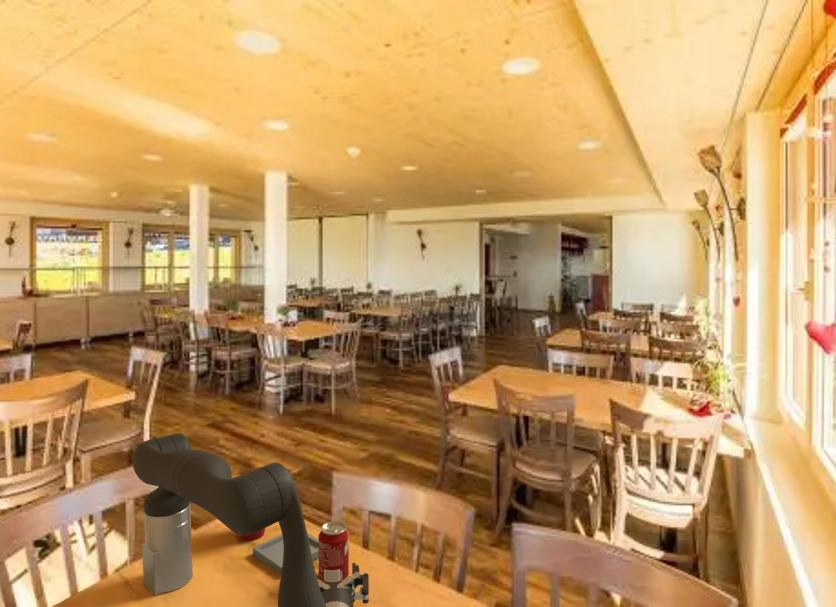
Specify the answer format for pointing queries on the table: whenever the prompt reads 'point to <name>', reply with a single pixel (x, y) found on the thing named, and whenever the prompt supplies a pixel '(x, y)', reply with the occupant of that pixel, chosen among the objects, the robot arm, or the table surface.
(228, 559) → the table surface
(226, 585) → the table surface
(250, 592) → the table surface
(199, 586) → the table surface
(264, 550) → the serving tray
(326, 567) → the soda can
